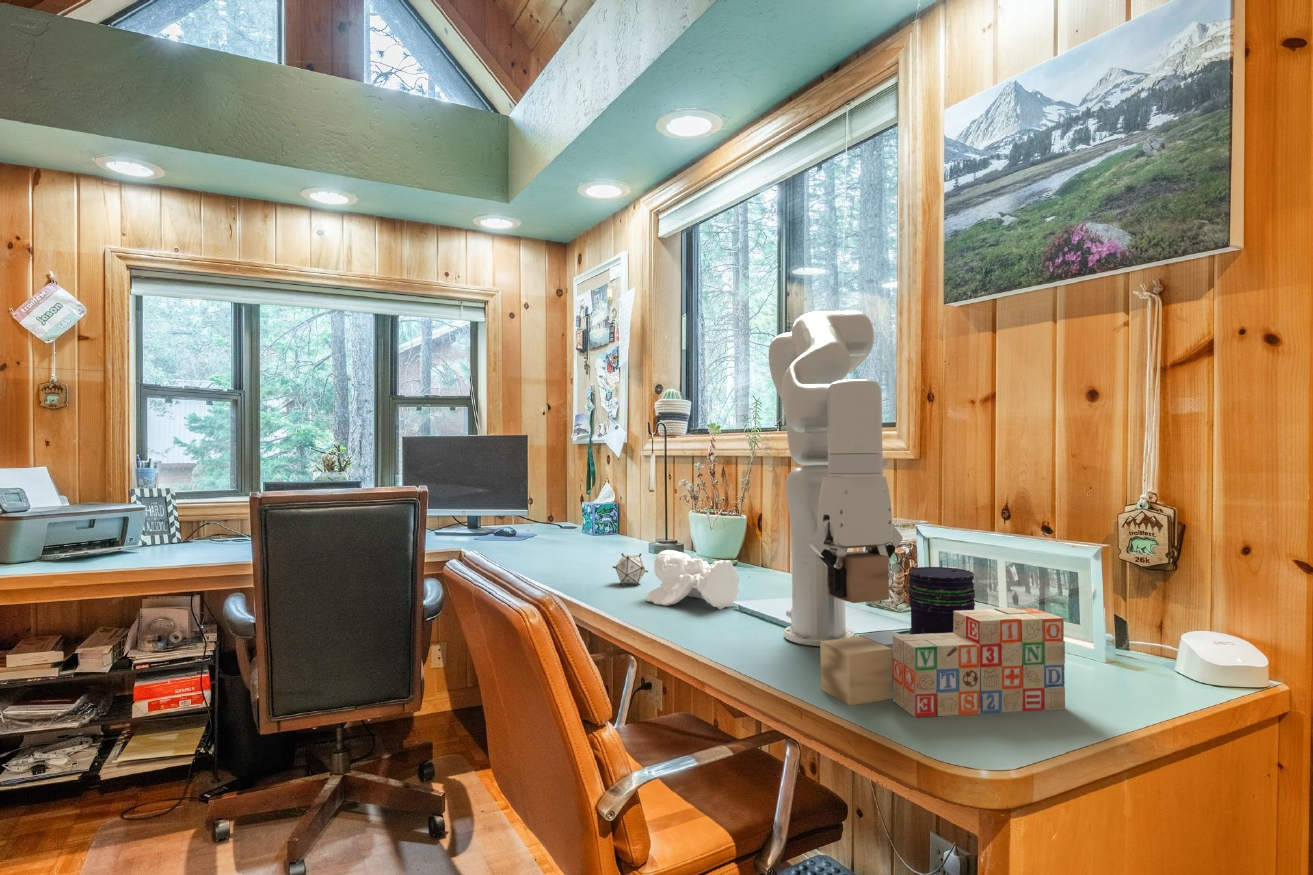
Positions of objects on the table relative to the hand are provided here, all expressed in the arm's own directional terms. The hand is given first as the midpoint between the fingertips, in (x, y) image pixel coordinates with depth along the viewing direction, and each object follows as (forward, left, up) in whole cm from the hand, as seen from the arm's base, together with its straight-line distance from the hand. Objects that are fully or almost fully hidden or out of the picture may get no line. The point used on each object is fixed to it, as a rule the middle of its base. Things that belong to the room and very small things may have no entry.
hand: (857, 592), depth 101 cm
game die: (-90, -2, -15) cm, 91 cm away
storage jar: (-5, +20, -15) cm, 25 cm away
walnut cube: (0, 0, -1) cm, 1 cm away
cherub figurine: (-64, +3, -15) cm, 65 cm away
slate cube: (-5, +9, -14) cm, 18 cm away
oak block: (0, 0, -14) cm, 14 cm away
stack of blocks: (+10, +12, -15) cm, 21 cm away
